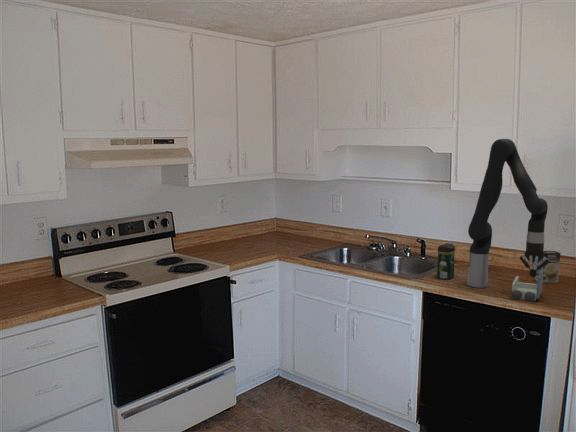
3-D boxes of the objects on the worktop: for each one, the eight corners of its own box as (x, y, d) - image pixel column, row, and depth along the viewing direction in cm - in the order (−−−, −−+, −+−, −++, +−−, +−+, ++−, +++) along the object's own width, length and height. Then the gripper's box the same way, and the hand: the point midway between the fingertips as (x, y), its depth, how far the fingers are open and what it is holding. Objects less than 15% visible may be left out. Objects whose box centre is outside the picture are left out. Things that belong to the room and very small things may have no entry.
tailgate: (536, 299, 239) (537, 277, 238) (539, 290, 252) (540, 269, 251) (538, 299, 239) (540, 277, 237) (541, 291, 252) (543, 270, 250)
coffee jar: (442, 274, 286) (443, 241, 284) (455, 277, 281) (457, 243, 279) (434, 278, 279) (435, 244, 276) (448, 280, 274) (450, 246, 271)
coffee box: (541, 283, 268) (543, 253, 266) (534, 280, 275) (537, 250, 272) (558, 283, 268) (560, 253, 266) (552, 279, 275) (554, 250, 272)
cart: (511, 298, 243) (511, 284, 242) (515, 289, 258) (516, 275, 257) (534, 302, 238) (535, 287, 237) (538, 292, 253) (539, 278, 252)
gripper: (518, 241, 243) (516, 276, 246) (550, 243, 237) (547, 280, 239) (520, 238, 250) (518, 273, 252) (551, 241, 243) (549, 276, 246)
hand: (532, 276), depth 246 cm, fingers closed
